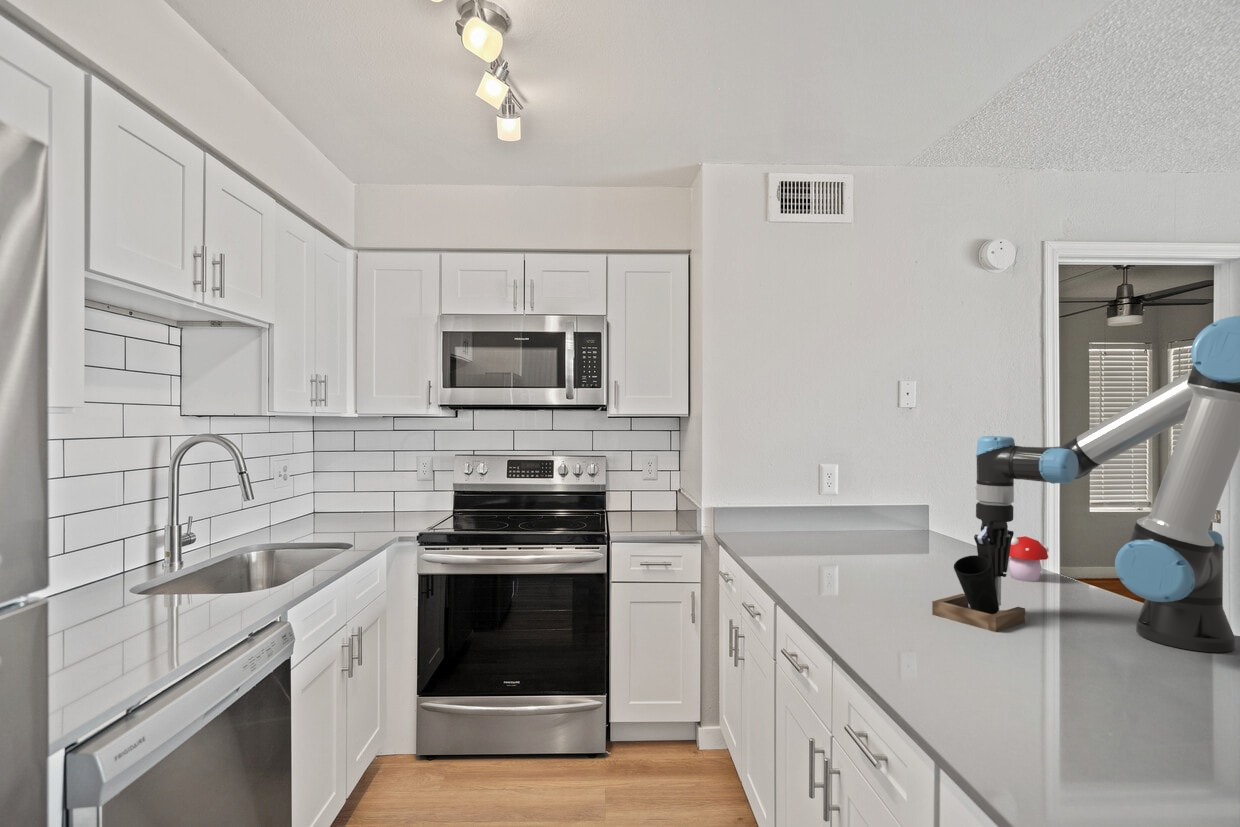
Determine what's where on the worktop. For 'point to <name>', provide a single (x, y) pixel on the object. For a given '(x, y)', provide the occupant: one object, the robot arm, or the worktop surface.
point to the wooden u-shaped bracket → (976, 614)
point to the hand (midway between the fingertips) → (993, 604)
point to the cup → (978, 583)
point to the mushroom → (1026, 558)
